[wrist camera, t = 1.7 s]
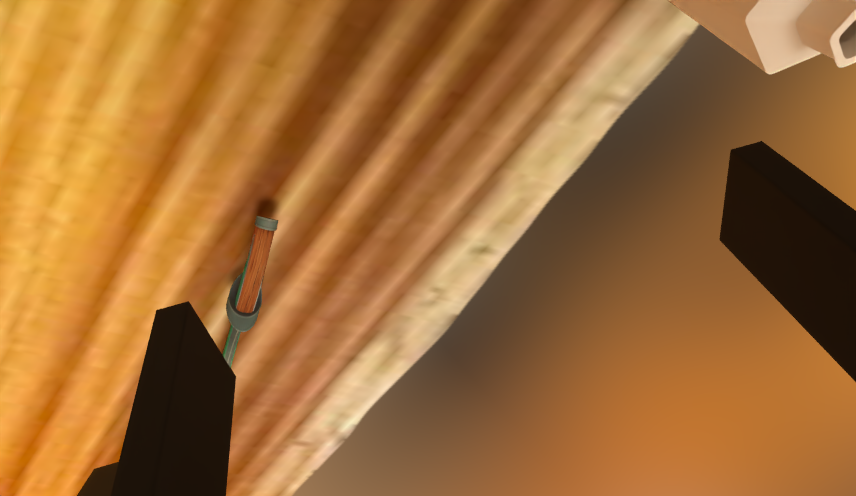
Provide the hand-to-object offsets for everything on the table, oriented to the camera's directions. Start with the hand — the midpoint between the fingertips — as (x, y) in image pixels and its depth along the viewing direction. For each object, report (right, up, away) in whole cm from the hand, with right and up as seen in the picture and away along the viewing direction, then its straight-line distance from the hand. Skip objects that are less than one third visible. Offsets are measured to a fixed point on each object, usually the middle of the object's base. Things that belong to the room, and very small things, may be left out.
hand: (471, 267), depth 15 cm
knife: (-14, -4, +27) cm, 31 cm away
